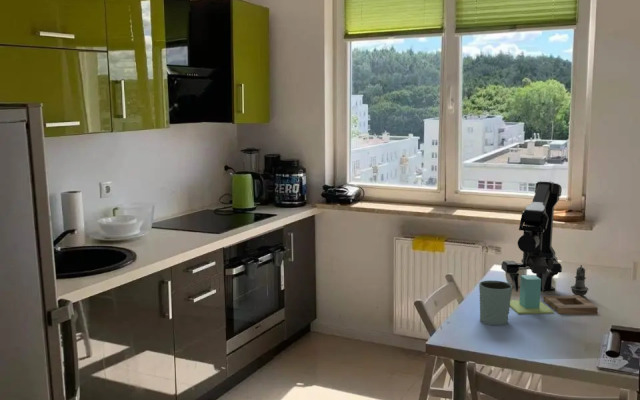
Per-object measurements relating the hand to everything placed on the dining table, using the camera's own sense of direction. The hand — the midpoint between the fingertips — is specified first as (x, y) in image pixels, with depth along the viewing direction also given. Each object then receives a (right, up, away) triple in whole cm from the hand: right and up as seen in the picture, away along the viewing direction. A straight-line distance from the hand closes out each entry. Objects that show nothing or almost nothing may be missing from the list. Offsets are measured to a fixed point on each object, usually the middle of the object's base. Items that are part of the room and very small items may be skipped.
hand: (529, 291), depth 214 cm
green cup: (-15, -8, -12) cm, 21 cm away
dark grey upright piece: (+21, -4, +12) cm, 25 cm away
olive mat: (0, -6, +1) cm, 6 cm away
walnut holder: (+14, -6, +2) cm, 15 cm away
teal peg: (0, -5, +1) cm, 5 cm away
